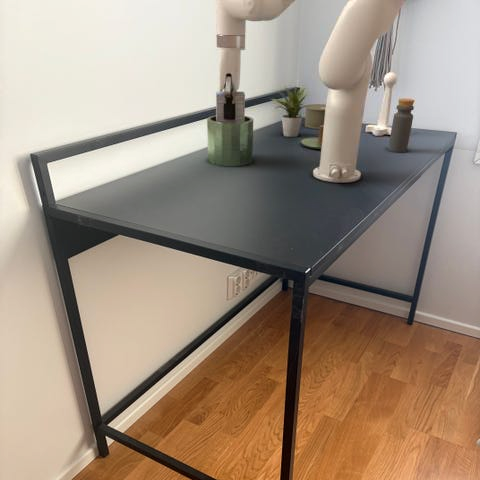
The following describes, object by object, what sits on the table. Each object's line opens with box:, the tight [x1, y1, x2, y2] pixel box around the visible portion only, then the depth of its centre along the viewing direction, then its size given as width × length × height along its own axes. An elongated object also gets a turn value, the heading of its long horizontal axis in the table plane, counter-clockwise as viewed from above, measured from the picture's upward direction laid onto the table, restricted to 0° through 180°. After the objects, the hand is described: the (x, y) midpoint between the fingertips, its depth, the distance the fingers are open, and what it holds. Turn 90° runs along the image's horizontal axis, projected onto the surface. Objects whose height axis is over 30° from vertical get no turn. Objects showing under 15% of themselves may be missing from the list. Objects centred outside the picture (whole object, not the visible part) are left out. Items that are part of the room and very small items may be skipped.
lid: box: [300, 125, 324, 150], centre depth 159 cm, size 14×14×6 cm
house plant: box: [270, 85, 309, 138], centre depth 170 cm, size 14×14×16 cm
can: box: [304, 103, 326, 130], centre depth 185 cm, size 12×12×7 cm
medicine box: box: [215, 90, 246, 123], centre depth 136 cm, size 8×4×9 cm, turn 92°
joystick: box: [365, 71, 398, 137], centre depth 171 cm, size 11×8×20 cm
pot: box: [206, 115, 254, 167], centre depth 140 cm, size 13×13×12 cm
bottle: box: [387, 98, 415, 153], centre depth 153 cm, size 6×6×15 cm
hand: (230, 116), depth 137 cm, fingers closed on medicine box, 4 cm apart
